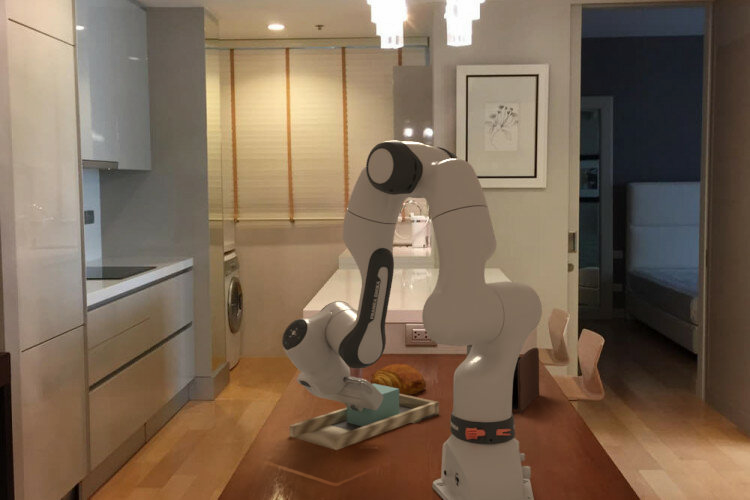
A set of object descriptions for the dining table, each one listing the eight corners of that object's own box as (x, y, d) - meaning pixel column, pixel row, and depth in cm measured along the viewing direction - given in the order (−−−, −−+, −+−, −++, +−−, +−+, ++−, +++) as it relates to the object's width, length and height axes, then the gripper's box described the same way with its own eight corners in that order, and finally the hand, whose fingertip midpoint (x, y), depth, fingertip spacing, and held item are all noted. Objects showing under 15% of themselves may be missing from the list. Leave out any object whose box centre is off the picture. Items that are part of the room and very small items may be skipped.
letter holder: (539, 395, 223) (540, 344, 222) (520, 414, 205) (521, 359, 204) (503, 391, 227) (504, 341, 226) (482, 409, 210) (482, 355, 208)
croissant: (363, 396, 230) (359, 369, 229) (405, 380, 239) (402, 354, 238) (394, 406, 219) (391, 377, 218) (438, 389, 228) (435, 361, 227)
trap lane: (336, 452, 177) (336, 438, 176) (289, 438, 186) (289, 425, 185) (438, 414, 205) (438, 401, 205) (393, 403, 214) (393, 392, 214)
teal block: (372, 428, 191) (372, 397, 190) (346, 422, 196) (346, 391, 195) (399, 419, 199) (399, 388, 198) (373, 413, 204) (373, 383, 203)
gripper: (371, 370, 179) (399, 404, 187) (304, 357, 192) (333, 389, 200) (358, 394, 176) (386, 428, 184) (291, 379, 189) (320, 411, 197)
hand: (358, 408), depth 193 cm, fingers closed
